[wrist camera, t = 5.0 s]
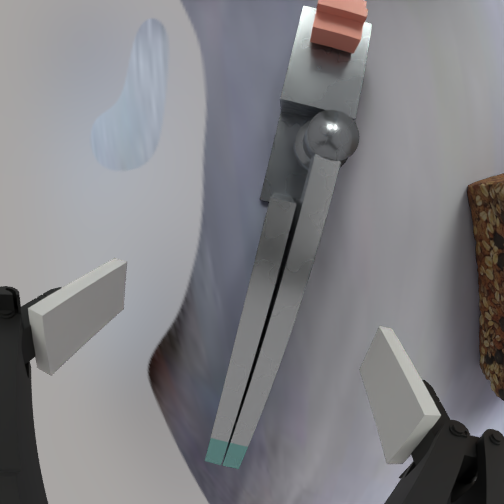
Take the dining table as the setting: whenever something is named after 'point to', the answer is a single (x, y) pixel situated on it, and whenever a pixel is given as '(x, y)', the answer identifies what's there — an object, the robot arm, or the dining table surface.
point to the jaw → (294, 267)
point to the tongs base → (286, 193)
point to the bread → (490, 274)
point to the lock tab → (339, 24)
